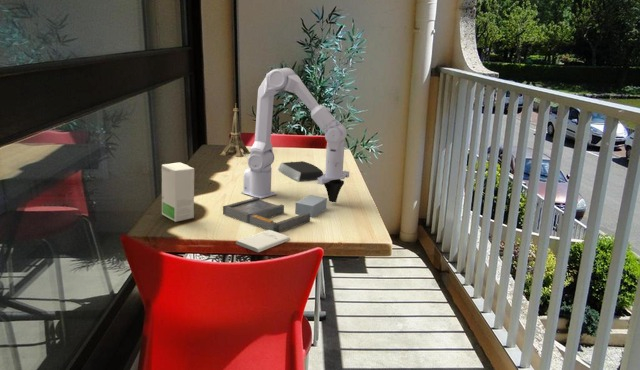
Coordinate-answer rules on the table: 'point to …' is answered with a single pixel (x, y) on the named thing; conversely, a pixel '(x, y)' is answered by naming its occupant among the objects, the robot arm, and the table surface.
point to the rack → (263, 214)
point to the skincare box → (177, 191)
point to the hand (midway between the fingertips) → (332, 201)
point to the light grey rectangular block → (311, 205)
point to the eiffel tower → (235, 135)
